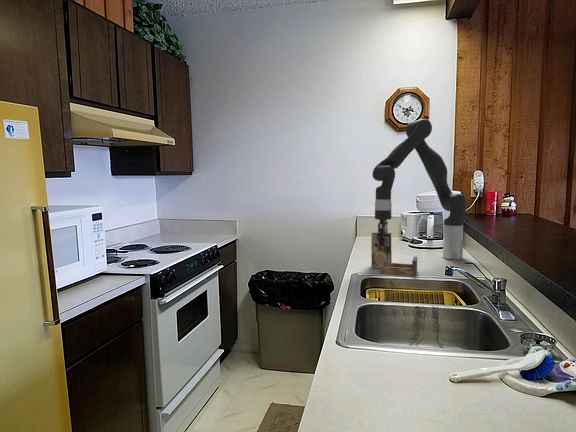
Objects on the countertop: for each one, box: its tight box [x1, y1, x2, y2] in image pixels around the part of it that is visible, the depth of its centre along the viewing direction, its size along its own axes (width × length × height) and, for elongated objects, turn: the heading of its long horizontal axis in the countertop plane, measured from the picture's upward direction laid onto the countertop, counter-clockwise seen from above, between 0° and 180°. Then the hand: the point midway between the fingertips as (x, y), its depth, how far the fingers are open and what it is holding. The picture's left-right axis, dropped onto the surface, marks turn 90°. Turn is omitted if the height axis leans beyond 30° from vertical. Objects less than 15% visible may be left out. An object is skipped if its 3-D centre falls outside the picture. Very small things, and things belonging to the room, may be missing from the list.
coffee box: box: [370, 231, 393, 269], centre depth 188 cm, size 9×6×16 cm
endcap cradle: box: [380, 256, 418, 277], centre depth 178 cm, size 14×9×7 cm, turn 69°
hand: (382, 244), depth 188 cm, fingers closed on coffee box, 6 cm apart
